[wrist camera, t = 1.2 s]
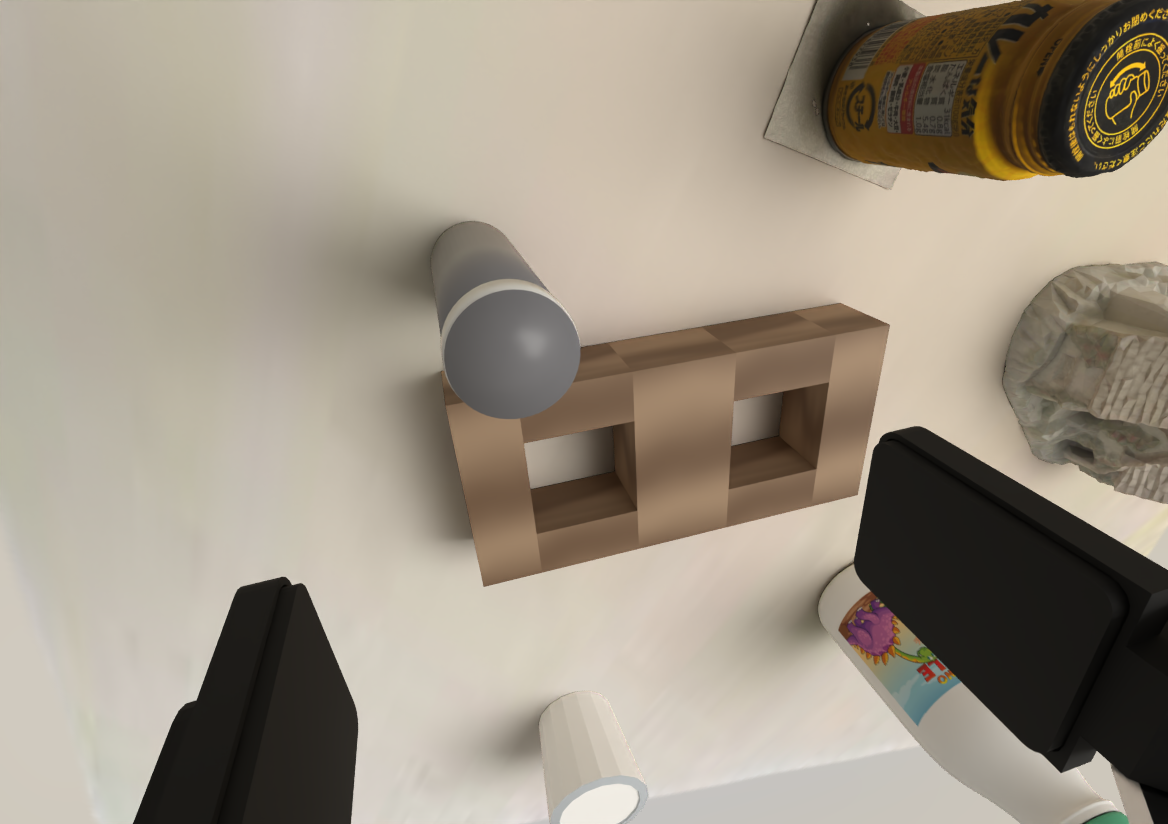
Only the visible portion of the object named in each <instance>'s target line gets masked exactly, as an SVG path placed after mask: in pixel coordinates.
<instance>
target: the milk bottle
mask: <svg viewBox="0 0 1168 824" xmlns="http://www.w3.org/2000/svg"><path fill="white" fill-rule="evenodd" d="M818 614H819V618H820V621H821V623H822V625H823V626H824V628H825V629H826V630H827V632H828V633H829V634H830V636H831V637H832V638H833V639H834V641H835V642H836V643H837V644H838V646H839V647H840V648H841V649H842V651H843V652H844V653H845V654H846V656H847V657H848V658H849V659H850V661H851V662H852V663H853V664H854V665H855V667H856V668H857V669H858V670H859V672H860V673H861V674H862V675H863V677H864V678H865V679H866V680H867V682H868V683H869V684H870V685H871V687H872V688H873V689H874V690H875V691H876V693H877V694H878V695H879V696H880V698H881V699H882V700H883V701H884V702H885V704H886V705H887V706H888V707H889V709H890V710H891V711H892V712H893V713H894V715H895V716H896V717H897V718H898V720H899V721H900V722H901V723H902V724H903V726H904V727H905V728H906V729H907V730H908V732H909V733H910V734H911V735H912V736H913V737H914V738H915V740H916V741H917V742H918V743H919V744H920V745H921V747H922V748H923V749H924V750H925V751H926V752H927V753H928V754H929V755H930V756H931V757H932V758H933V759H934V760H935V761H936V762H937V763H938V764H939V765H940V766H941V767H942V768H943V769H944V770H946V771H947V772H948V773H949V774H950V775H951V776H953V777H954V778H956V779H957V780H958V781H959V782H961V783H963V784H964V785H966V786H967V787H969V788H970V789H972V790H973V791H975V792H977V793H978V794H980V795H982V796H983V797H985V798H987V799H988V800H990V801H991V802H993V803H994V804H996V805H997V806H999V807H1000V808H1001V809H1003V810H1004V811H1005V812H1007V813H1008V814H1009V815H1011V816H1012V817H1013V818H1015V819H1016V820H1017V821H1018V822H1019V823H1021V824H1129V821H1128V818H1127V816H1125V815H1124V814H1122V813H1121V812H1119V810H1118V809H1116V807H1115V806H1114V804H1113V802H1111V801H1109V800H1104V799H1102V798H1101V797H1100V796H1099V795H1098V794H1097V793H1096V792H1095V791H1094V790H1093V789H1092V788H1091V787H1090V785H1089V784H1088V783H1087V782H1086V780H1085V779H1084V777H1083V776H1082V774H1081V773H1080V771H1079V770H1078V768H1077V767H1076V768H1073V769H1071V770H1068V771H1066V772H1063V773H1060V772H1059V771H1058V770H1057V769H1056V768H1055V767H1054V766H1053V765H1052V764H1051V763H1050V762H1049V761H1048V760H1047V759H1046V758H1045V757H1044V756H1043V755H1042V754H1040V753H1037V752H1034V751H1032V750H1031V749H1029V748H1027V747H1026V746H1025V745H1024V744H1023V743H1022V742H1021V741H1020V740H1019V739H1018V738H1017V737H1016V736H1015V735H1014V734H1013V733H1012V732H1011V731H1010V730H1009V729H1008V728H1007V727H1006V726H1005V725H1004V724H1003V723H1002V722H1001V721H1000V720H999V719H998V718H997V717H996V716H995V715H994V714H993V713H992V712H991V711H990V710H989V709H988V708H987V707H986V706H985V705H984V704H983V703H982V702H981V701H980V700H979V699H978V698H977V697H976V696H975V695H974V694H973V693H972V692H971V691H970V690H969V689H968V688H967V687H966V686H965V685H964V684H963V683H962V682H961V681H960V680H959V679H958V678H957V677H956V676H955V675H954V674H953V673H952V672H951V671H950V670H949V669H948V668H947V667H946V666H945V665H944V664H943V663H942V662H941V661H940V660H939V659H938V658H937V657H936V656H935V655H934V654H933V653H932V652H931V651H930V650H929V649H928V648H927V647H926V646H925V645H924V644H923V643H922V642H921V641H920V640H919V639H918V638H917V637H916V636H915V635H914V634H913V633H912V632H911V631H910V630H909V629H908V628H907V627H906V626H905V625H904V624H903V623H902V622H901V621H900V620H899V619H898V618H897V617H896V616H895V615H894V614H893V613H892V612H891V611H890V610H889V609H888V608H887V607H886V606H885V605H884V604H883V603H882V602H881V601H880V600H879V599H878V598H877V597H876V596H875V595H874V594H873V593H872V592H871V591H870V590H869V589H868V588H867V587H866V586H865V585H864V584H863V583H862V582H861V580H860V579H859V577H858V576H857V574H856V571H855V568H854V564H853V565H851V566H849V567H847V568H846V569H845V570H843V571H842V572H840V573H839V574H838V575H837V576H836V577H835V578H834V579H833V580H832V581H831V582H830V583H829V584H828V586H827V587H826V588H825V590H824V592H823V593H822V595H821V598H820V600H819V605H818Z"/></svg>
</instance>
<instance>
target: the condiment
mask: <svg viewBox="0 0 1168 824" xmlns="http://www.w3.org/2000/svg"><path fill="white" fill-rule="evenodd" d="M868 22H869V23H870V24H869V26H868V25H867V23H868ZM813 100H815V102H816V107H813V105H812V101H813ZM816 109H819V114H818V115H816V111H815V110H816ZM1167 121H1168V0H1021V1H1013V2H1010V3H1004V4H999V5H993V6H987V7H980V8H973V9H968V10H963V11H957V12H951V13H946V14H940V15H934V16H927V17H926V16H924V15H923V14H921V13H919V12H917V11H916V10H915V9H913V8H911V7H909V6H908V5H906V4H905V3H903V2H902V1H899V0H818V1H817V4H816V6H815V9H814V11H813V14H812V16H811V19H810V22H809V24H808V26H807V28H806V30H805V33H804V35H803V38H802V40H801V43H800V45H799V48H798V51H797V53H796V56H795V58H794V61H793V63H792V65H791V66H790V69H789V70H788V76H787V79H786V82H785V84H784V87H783V90H782V93H781V95H780V97H779V99H778V101H777V104H776V106H775V109H774V113H773V116H772V118H771V121H770V123H769V126H768V128H767V131H766V133H765V136H764V138H766V139H769V140H771V141H774V142H776V143H779V144H781V145H783V146H786V147H788V148H791V149H793V150H796V151H798V152H801V153H803V154H805V155H808V156H810V157H813V158H815V159H817V160H820V161H822V162H824V163H827V164H829V165H831V166H834V167H836V168H838V169H841V170H843V171H846V172H848V173H851V174H853V175H855V176H858V177H860V178H862V179H865V180H867V181H870V182H872V183H875V184H877V185H880V186H882V187H885V188H887V189H890V190H891V189H892V186H893V184H894V182H895V180H896V178H897V176H898V174H899V172H900V170H901V168H906V169H910V170H912V169H914V170H919V171H924V172H929V171H935V172H938V173H952V174H958V175H968V176H976V177H979V178H989V179H995V180H1001V181H1006V180H1020V179H1025V178H1031V177H1033V176H1036V175H1038V174H1039V175H1042V176H1056V175H1066V176H1070V177H1075V178H1079V177H1090V176H1095V175H1098V174H1101V173H1106V172H1113V171H1115V170H1117V169H1119V168H1121V167H1122V166H1123V165H1125V164H1126V163H1128V162H1129V161H1130V160H1132V159H1133V158H1134V157H1135V156H1137V155H1138V154H1139V153H1140V152H1141V151H1143V149H1144V148H1145V147H1146V146H1147V145H1148V144H1149V143H1150V142H1151V141H1152V140H1153V139H1154V138H1155V137H1156V136H1157V135H1158V134H1159V132H1160V131H1161V130H1162V129H1163V127H1164V126H1165V124H1166V122H1167Z"/></svg>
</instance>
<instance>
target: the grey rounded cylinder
mask: <svg viewBox="0 0 1168 824" xmlns="http://www.w3.org/2000/svg"><path fill="white" fill-rule="evenodd" d="M431 271H432V278H433V285H434V292H435V299H436V306H437V313H438V320H439V327H440V334H441V353H442V360H443V368H444V371H445V375H446V378H447V380H448V382H449V384H450V386H451V387H452V389H453V391H454V392H455V393H456V394H457V396H458V397H459V398H460V399H461V400H462V401H463V402H464V403H466V404H467V405H468V406H469V407H471V408H472V409H474V410H475V411H477V412H479V413H481V414H484V415H487V416H490V417H494V418H499V419H519V418H525V417H529V416H532V415H535V414H538V413H540V412H542V411H544V410H546V409H547V408H549V407H550V406H552V405H553V404H555V403H556V402H557V401H558V400H559V399H560V398H561V397H562V396H563V395H564V394H565V393H566V392H567V390H568V389H569V387H570V386H571V384H572V382H573V381H574V379H575V376H576V374H577V371H578V367H579V363H580V340H579V335H578V332H577V328H576V326H575V324H574V322H573V320H572V318H571V317H570V315H569V314H568V312H567V311H566V310H565V309H564V307H563V306H562V305H561V304H560V303H559V301H558V300H557V299H556V298H555V297H554V296H553V295H552V294H551V293H550V292H549V291H548V290H547V288H546V287H545V286H544V285H543V283H542V282H541V281H540V279H539V278H538V277H537V276H536V274H535V273H534V272H533V270H532V269H531V268H530V267H529V265H528V264H527V263H526V262H525V260H524V259H523V258H522V256H521V255H520V254H519V253H518V251H517V250H516V249H515V247H514V246H513V245H512V244H511V242H510V241H509V240H508V239H507V237H506V236H505V235H504V234H503V233H502V232H501V231H499V230H498V229H497V228H495V227H493V226H491V225H489V224H486V223H482V222H476V221H470V222H463V223H459V224H456V225H454V226H452V227H451V228H449V229H448V230H446V231H445V232H444V233H443V234H442V235H441V236H440V237H439V239H438V240H437V242H436V243H435V246H434V248H433V251H432V255H431Z"/></svg>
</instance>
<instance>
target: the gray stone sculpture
mask: <svg viewBox="0 0 1168 824" xmlns="http://www.w3.org/2000/svg"><path fill="white" fill-rule="evenodd" d="M1005 365H1006V368H1005V369H1004V370H1005V371H1006V372H1004V377H1003V387H1004V389H1005V391H1006V394H1007V397H1008V399H1009V400H1010V402H1011V403H1010V404H1011V405H1012V408H1014V412H1015V414H1016V416H1017V418H1018V419H1019V421H1018V423H1019V424H1020V425H1021V426H1022V427H1023V431H1024V434H1025V436H1026V438H1027V440H1028V443H1029V445H1030V447H1031V450H1032V453H1033V454H1034V455H1035V456H1036V457H1037V458H1038V459H1040V460H1043V461H1046V462H1049V463H1057V464H1061V465H1063V464H1066V463H1073V464H1075V465H1079V469H1080V471H1082V472H1085V473H1086V474H1088V475H1089V476H1091V477H1093V478H1096V479H1097V481H1098V482H1100V483H1105V484H1107V485H1112V486H1114V490H1115V491H1118V492H1121V493H1124V494H1129V495H1135V496H1137V497H1140V498H1143V499H1148V500H1152V501H1156V502H1160V503H1164V504H1168V266H1167V265H1164V264H1161V263H1158V262H1149V263H1137V264H1127V265H1120V264H1108V265H1093V266H1078V267H1075V268H1072V269H1070V270H1068V271H1066V272H1065V273H1063V274H1061V275H1060V276H1058V277H1056V278H1054V281H1050V282H1049V283H1048V284H1047V285H1046V287H1044V288H1043V289H1042V290H1041V291H1040V292H1039V294H1038V295H1036V296H1035V298H1034V299H1033V300H1032V302H1031V304H1030V305H1029V306H1028V307H1027V308H1026V309H1025V310H1024V313H1023V314H1022V317H1021V319H1020V321H1019V323H1018V325H1017V327H1016V329H1015V332H1014V334H1013V336H1012V339H1011V343H1010V346H1009V350H1008V353H1007V358H1006V361H1005Z"/></svg>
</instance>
